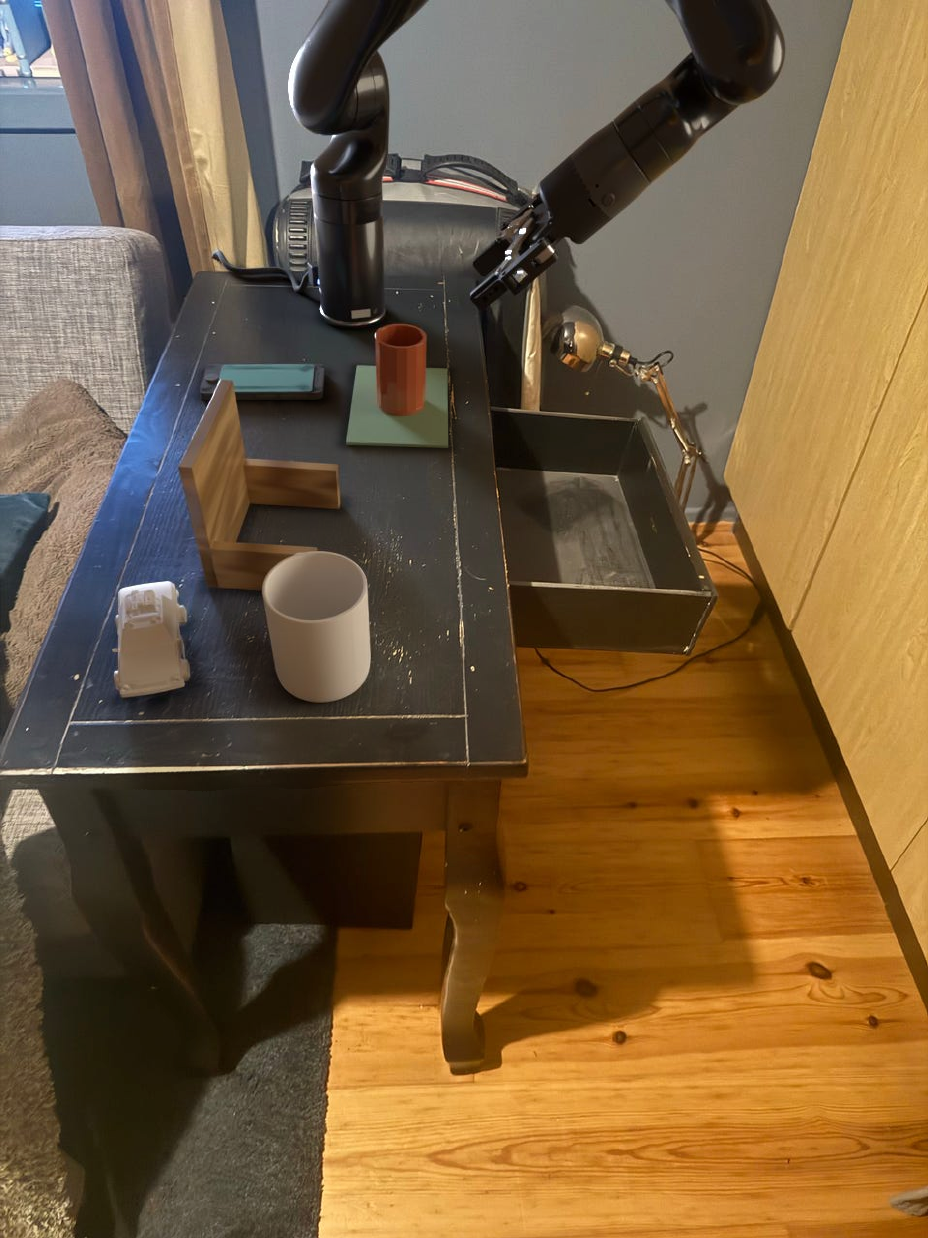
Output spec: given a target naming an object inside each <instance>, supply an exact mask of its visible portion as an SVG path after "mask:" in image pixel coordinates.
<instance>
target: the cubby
mask: <svg viewBox="0 0 928 1238" xmlns="http://www.w3.org/2000/svg"><path fill="white" fill-rule="evenodd" d="M246 457H247V456H246V451H245V445H244V440H243V433H242V428H241V423H240V416H239V410H238V405H237V400H236V398H235V392H234V386H233V381H232V380H220V382H219V384H218V386H217V388H216V390H215V392H214V394H213V396H212V398H211V400H209V402H208V404H207V407H206V409H205V411H204V413H203V415H202V417H201V419H200V421H199V423H198V425H197V427H196V430H195V431H194V433H193V435H192V438H191V440H190V441H189V445H188V446H187V447H186V450H185V453H184V454H183V456H182V458H181V461H180V463H179V465H178V472H179V476H180V480H181V484H182V489H183V493H184V496H185V501H186V505H187V509H188V513H189V518H190V522H191V526H192V529H193V534H194V538H195V542H196V546H197V551H198V555H199V560H200V563H201V567H202V571H203V575H204V580H205V583H206V588H213V589H215V588H216V589H232V590H247V591H261V592H262V586H263V582H264V579H265V577H266V575H267V574H268V572H269V571H270V570H271V569H272V568H273V567H274V566H275V565H276V564H278V563H279V562H281V561H282V560H284V559H286V558H288V557H291V556H293V555H294V554H296V553H305V552H313V551H318V548H317V547H316V546H299V545H285V544H284V545H283V544H268V543H256V542H255V543H252V542H241V541H238V542H237V540H238V537H239V535H240V532H241V529H242V527H243V523H244V521H245V518H246V515H247V513H248V509H249V506H250V505H251V504H255V505H268V506H269V505H271V506H284V507H285V506H286V507H302V508H315V509H316V508H317V509H331V510H339V509H340V506H341V491H340V490H341V489H340V477H339V476H340V475H339V464H334V463H323V462H321V463H320V462H319V463H318V462H306V461H293V460H291V461H289V460H287V461H286V460H276V459H275V460H274V459H262V458H261V459H259V458H246Z"/></svg>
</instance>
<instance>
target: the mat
mask: <svg viewBox="0 0 928 1238" xmlns="http://www.w3.org/2000/svg"><path fill="white" fill-rule="evenodd" d="M448 399H449V398H448V368H444V367H441V368H440V367H426V391H425V406H424V408H423V409H422V410H421V411H420V412H418V413H416V414H413V415H409V416H395V415H390V414H387V413H385V412H383V411H382V410H381V409H380V408H379V407H378V405H377V382H376V365H364V364H363V365H361V364H357V365H356V371H355V377H354V385H353V391H352V398H351V405H350V413H349V419H348V426H347V434H346V441H345V445H347V446H370V447H371V446H372V447H373V446H376V447H377V446H378V447H401V448H402V447H405V448H432V449H433V448H435V449H436V448H437V449H438V448H439V449H448V448H449V420H448V419H449V411H448V408H449V406H448V404H449V403H448V401H449V400H448Z"/></svg>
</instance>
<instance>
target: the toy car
mask: <svg viewBox="0 0 928 1238" xmlns="http://www.w3.org/2000/svg"><path fill="white" fill-rule="evenodd" d="M117 594H118V595H117V615H115V617H114V621H115V627H116V635H117V648H112V650H111V651H112V653H117V670H115V671H114V673H113V681H114V684H115V689H116V690H117V691H119V696H120V697H121V698H131V697H132V698H133V697H140V696H147V695H154V694H158V693H163V692H168V691H172V690H176V689H180V688H183V687H185V685H186V683H185V682H187V681H190V680H189V679H190V678H191V667H190V663H189V661H188V659H186V654H185V642H184V638H183V635H182V634H181V631H180V627H183V626H186V623H187V622H188V616H187V615H188V614H187V609H186V607H185V606H184V604H182V605H180V603H178V598H179V597H180V593H179V590H178V589H177V588H176V585H175V583H174V582H172V581H158V582H150V583H143V584H136V585H132V586H126V587H123V588H121V589H119V591H117Z"/></svg>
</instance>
